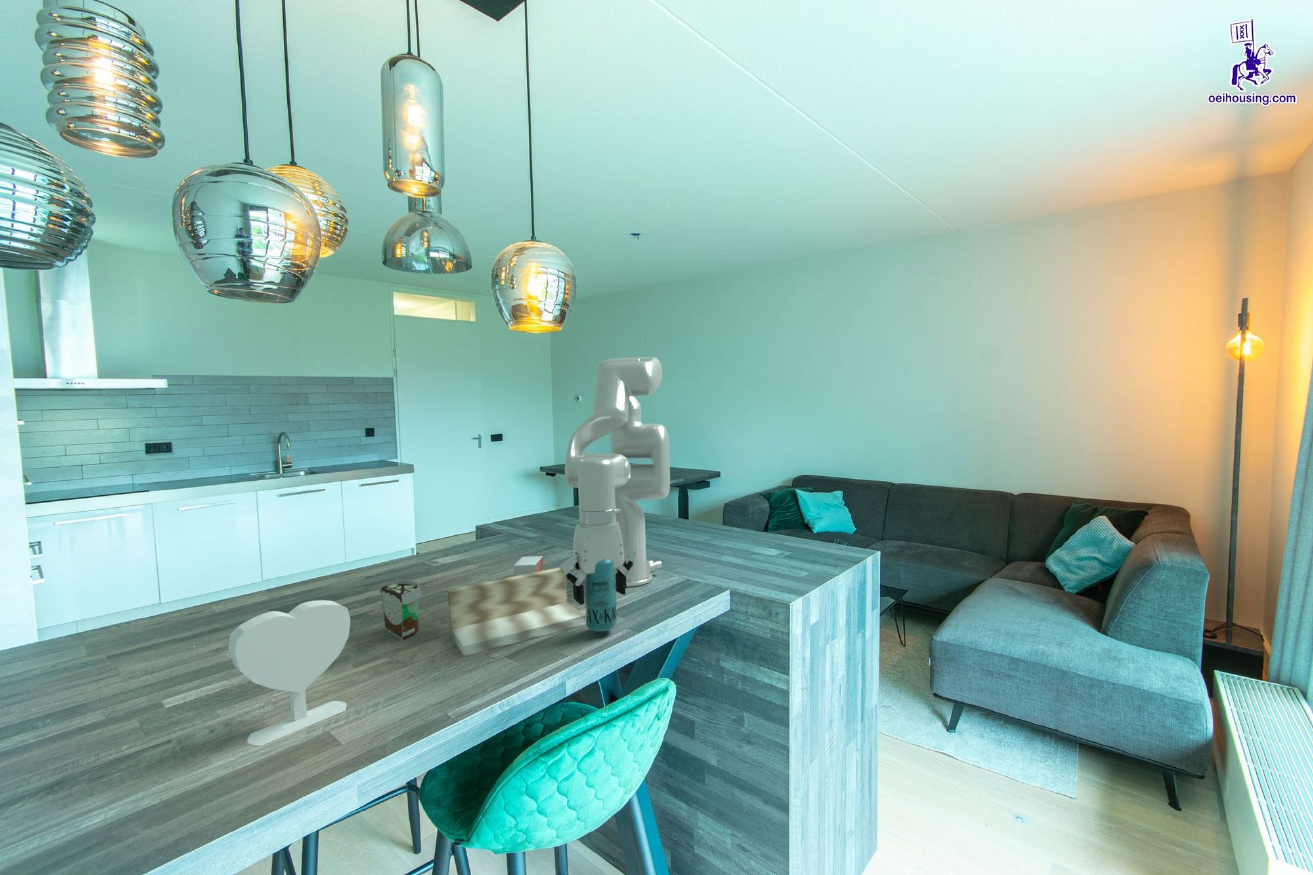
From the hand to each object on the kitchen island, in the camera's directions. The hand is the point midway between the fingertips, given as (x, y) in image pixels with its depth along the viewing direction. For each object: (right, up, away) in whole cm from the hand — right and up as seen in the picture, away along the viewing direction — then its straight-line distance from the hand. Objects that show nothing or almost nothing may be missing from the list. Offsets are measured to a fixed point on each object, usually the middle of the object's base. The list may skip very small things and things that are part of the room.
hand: (600, 597), depth 118 cm
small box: (-19, -7, +20) cm, 29 cm away
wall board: (-17, -8, +2) cm, 19 cm away
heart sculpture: (-44, -11, -30) cm, 55 cm away
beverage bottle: (0, -8, +1) cm, 8 cm away
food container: (-43, -9, +5) cm, 44 cm away
